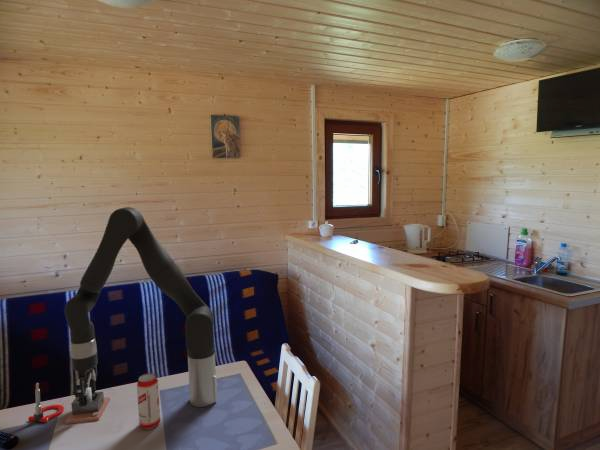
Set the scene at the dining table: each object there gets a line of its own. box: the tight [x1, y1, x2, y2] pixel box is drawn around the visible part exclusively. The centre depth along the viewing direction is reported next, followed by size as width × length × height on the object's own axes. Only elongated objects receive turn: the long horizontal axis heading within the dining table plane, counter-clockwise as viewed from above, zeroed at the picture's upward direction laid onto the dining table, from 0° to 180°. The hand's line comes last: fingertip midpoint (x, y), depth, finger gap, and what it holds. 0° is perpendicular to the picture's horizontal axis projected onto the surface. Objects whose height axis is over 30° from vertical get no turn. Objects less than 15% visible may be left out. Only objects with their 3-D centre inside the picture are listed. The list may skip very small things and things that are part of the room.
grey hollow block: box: [71, 391, 105, 415], centre depth 131 cm, size 8×6×4 cm
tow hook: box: [28, 382, 65, 423], centre depth 130 cm, size 8×13×9 cm
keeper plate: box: [65, 387, 111, 425], centre depth 131 cm, size 10×12×8 cm
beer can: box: [136, 373, 161, 430], centre depth 123 cm, size 6×6×16 cm
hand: (87, 398), depth 131 cm, fingers open, 8 cm apart
